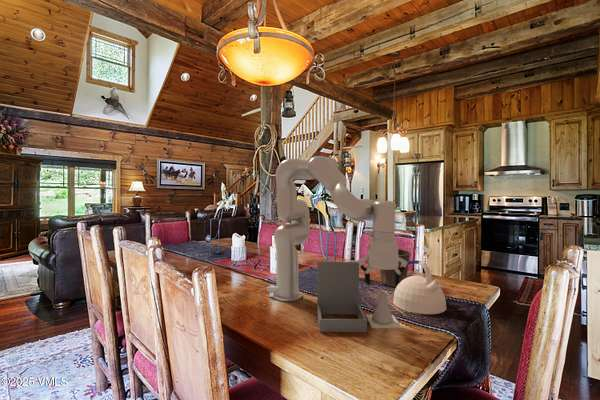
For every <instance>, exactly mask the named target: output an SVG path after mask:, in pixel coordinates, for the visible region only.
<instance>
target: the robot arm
mask: <svg viewBox="0 0 600 400" xmlns="http://www.w3.org/2000/svg"><path fill="white" fill-rule="evenodd" d="M294 180H304V181H305V180H306V181H307V180H308V181H309V180H310V181H311V180H317V181H318V183H320V184H321V185H322V186H323V188H324V189H326V190H327V191H328V192H329V194H330V197H331V199H332V202H333V203H334V205H335V206H336V207H337V209H338V210H340V211H341V212H342V213H343V215H345V217H347V218H348V219H350V220H351V221H354V222H360V221H365V220H366V221H368V220H372V230H371V231H370V232H367V233H368V234H367V236H368V237H369V238H370V237H371V238H370V239H369V244H368V248H367V249H368V250H367V254H366V255H365V256H363V257H361V258H359V259H357V261H356V262H358V263H359V268H360V269H361V270H362V271H363V272H364V282H365V283H366V285H367V286H370V284H371V274H370V272H371V271H372V270H379V271H380V270H394V271H395V272H394V273H393V283H394V285H396V286H398V283H399V275H400V274H401V272H402V271H403V270H404V269H405V267H406V265H407V263H408V262H407V261H405V260H403V259H402V258H400V257H398V249H399V247H398V240H396V239H395V235H396V233H395V231H396V230H395V229H396V227H395V226H396V203H395V201H391V200H374V199H369V198H361V199H359V198H357V197H356V196H355V195H354V194H353V193H351V192H350V190H349V189H348V188H347V186H346V183H347V177H346V175H344V174H343V173H342V172H341V171H340V170H339V164H338V162H337V161H336V159H335V158H332V157H329V156H324V155H315V156H312V157H311V158H310V159H309V160H306V159H299V158H286V159H285V160H283V161H281V162H280V163H279V165H277V168H276V171H275V183H276V213H277V218H278V219H279V220H280V221H282V222H291V223H288V224H287V223H286V224H282V225H279V226H278V227H277V228H276V229H275V231H274V233H273V241H274V243H275V252H276V255H275V256H276V257H275V258H276V284H275V286H267V287H266V291H265V292H268V293H271V294H272V298H273V299H274V300H276V301H279V302H293V301H294V302H295V301H298V300H300V299H302V297H303V293H302V292H301V291H299V254H298V251H297V248H296V246H298V245H301V244H304V243H306V242H307V241H308V239H309V237H310V231H311V230H310V208H309V205H308V203H307V202H306V201H304V200H303V199H300V198H298V197H297V194H298V193H297V191H298V190H297V187H296V184H295V182H294ZM399 261H400V262H401V263H402V264H401V266H400V267H399V268H398V266H399ZM364 262H367V263H366V264H367V265H366V267H365V265H364V264H363V263H364Z"/></svg>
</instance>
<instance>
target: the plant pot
mask: <svg viewBox="0 0 600 400" xmlns="http://www.w3.org/2000/svg"><path fill="white" fill-rule="evenodd" d="M411 255H412V252H411V251H409V250H407V249H400V248H398V257H400V258H402V259H403V260H405V261H407V262H408V261H410V258H411ZM401 264H402V263H401V262H400V261H399V266H398V268H399V267H400V266H401ZM408 269H409V265H408V266H406V267H405V269H404V270H403V271H402V272H401V274H400V275H399V283H400V282H401V281H402V280H404V279H405V278H407V277H408ZM394 272H395V271H394V270H379V273H380V274H379V275H380V283H381V284H382V285H386V287H392V288H394V287H395V288H396V287H397V286H396V285H394V283H393V273H394ZM399 283H398V284H399Z"/></svg>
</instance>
